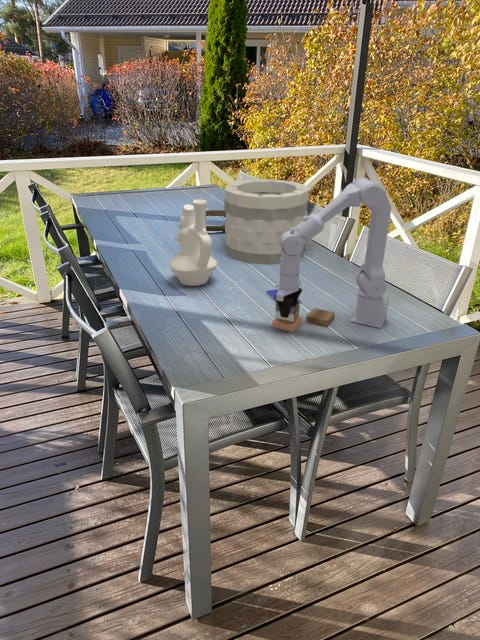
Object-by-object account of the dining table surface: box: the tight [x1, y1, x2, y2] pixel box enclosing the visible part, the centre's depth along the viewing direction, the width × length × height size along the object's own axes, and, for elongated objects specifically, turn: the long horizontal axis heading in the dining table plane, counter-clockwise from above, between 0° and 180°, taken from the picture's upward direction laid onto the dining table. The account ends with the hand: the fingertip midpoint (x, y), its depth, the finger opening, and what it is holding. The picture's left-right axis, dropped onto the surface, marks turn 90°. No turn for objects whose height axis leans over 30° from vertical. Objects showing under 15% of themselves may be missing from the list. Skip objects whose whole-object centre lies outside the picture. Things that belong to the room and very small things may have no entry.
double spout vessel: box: [168, 199, 218, 287], centre depth 178 cm, size 18×22×32 cm
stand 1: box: [271, 316, 303, 333], centre depth 155 cm, size 7×7×2 cm
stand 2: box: [305, 307, 335, 328], centre depth 158 cm, size 7×7×2 cm
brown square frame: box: [206, 209, 226, 231], centre depth 252 cm, size 31×31×5 cm
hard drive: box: [265, 288, 303, 305], centre depth 173 cm, size 2×8×12 cm
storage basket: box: [223, 179, 310, 266], centre depth 212 cm, size 35×35×27 cm
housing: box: [274, 300, 301, 322], centre depth 153 cm, size 6×4×5 cm
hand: (287, 313), depth 153 cm, fingers closed on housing, 4 cm apart
